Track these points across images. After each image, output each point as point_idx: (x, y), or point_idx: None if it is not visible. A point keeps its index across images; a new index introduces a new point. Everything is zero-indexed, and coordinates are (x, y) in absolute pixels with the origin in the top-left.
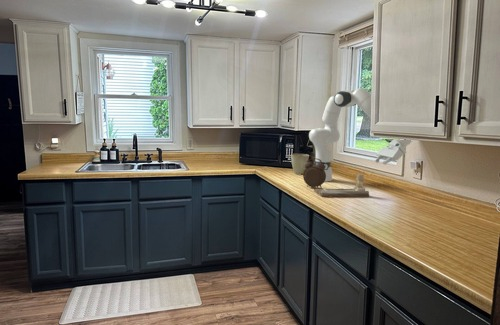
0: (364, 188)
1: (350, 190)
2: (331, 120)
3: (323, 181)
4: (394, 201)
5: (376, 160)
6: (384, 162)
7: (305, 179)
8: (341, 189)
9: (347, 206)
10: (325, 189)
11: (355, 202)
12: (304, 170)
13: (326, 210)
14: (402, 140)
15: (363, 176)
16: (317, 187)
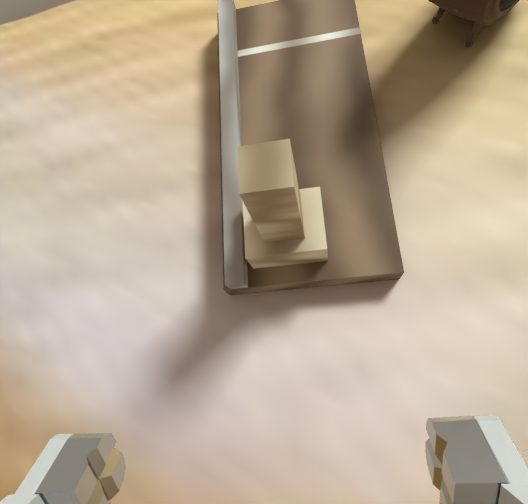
0: (245, 252)
1: (327, 187)
2: None
3: (451, 1)
4: None
5: (434, 430)
6: (51, 450)
7: None
8: (355, 134)
9: (41, 109)
10: (337, 39)
11: (104, 165)
12: None
13: (3, 24)
14: None
15: (243, 201)
16: (437, 13)
